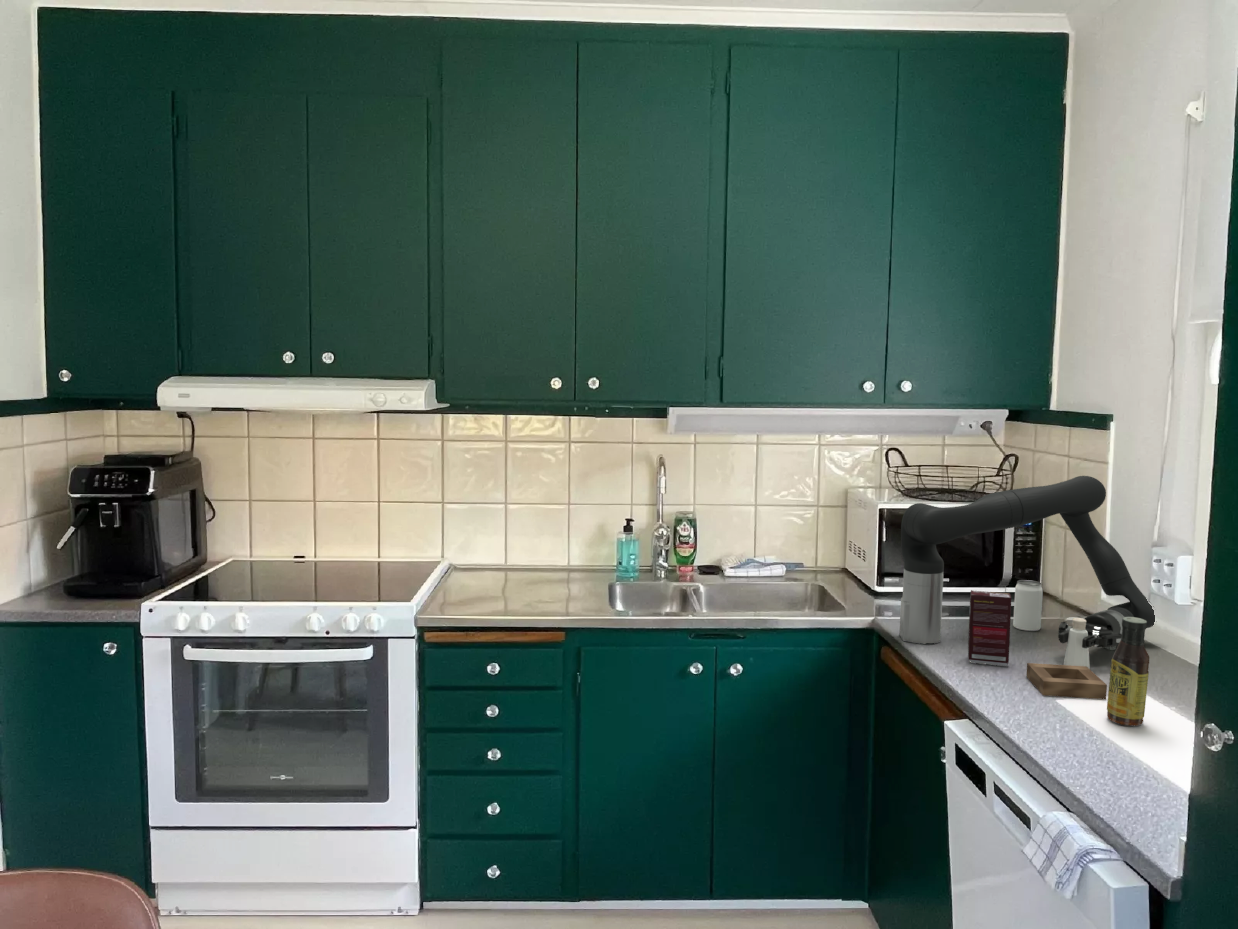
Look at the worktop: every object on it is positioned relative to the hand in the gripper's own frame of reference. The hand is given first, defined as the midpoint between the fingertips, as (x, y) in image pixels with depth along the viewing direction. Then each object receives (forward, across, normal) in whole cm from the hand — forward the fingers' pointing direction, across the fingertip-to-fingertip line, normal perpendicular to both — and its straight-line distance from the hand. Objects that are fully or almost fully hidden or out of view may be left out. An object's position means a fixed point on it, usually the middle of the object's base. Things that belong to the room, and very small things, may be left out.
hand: (1072, 641), depth 204 cm
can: (-26, -22, +7) cm, 35 cm away
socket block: (+13, +4, +6) cm, 15 cm away
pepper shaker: (-3, 0, +7) cm, 7 cm away
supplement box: (+9, -14, +7) cm, 19 cm away
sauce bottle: (+24, +20, +7) cm, 32 cm away
